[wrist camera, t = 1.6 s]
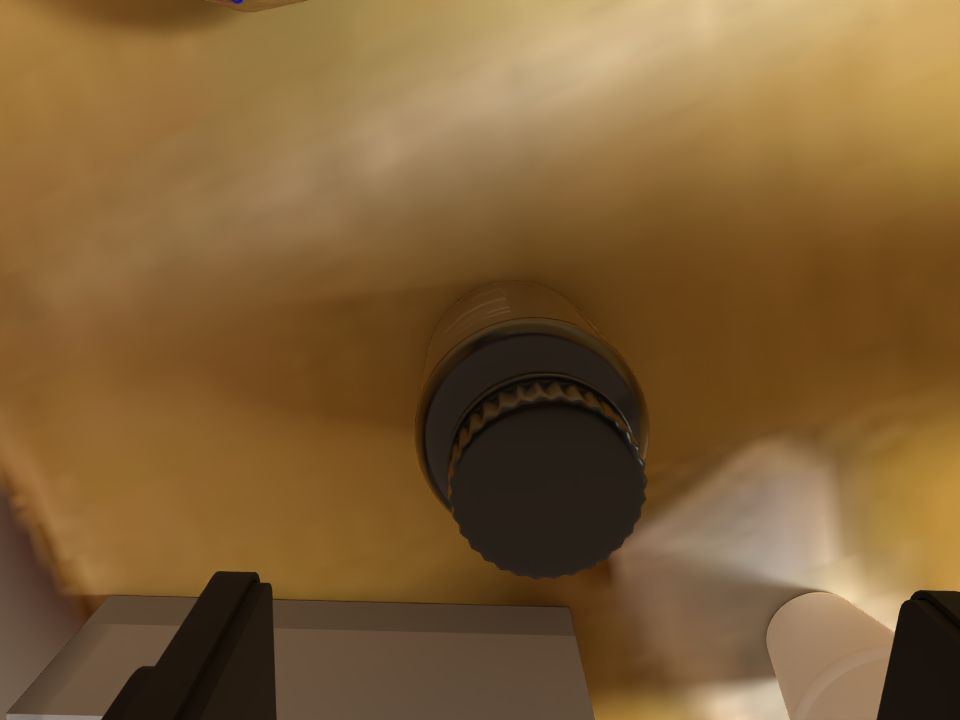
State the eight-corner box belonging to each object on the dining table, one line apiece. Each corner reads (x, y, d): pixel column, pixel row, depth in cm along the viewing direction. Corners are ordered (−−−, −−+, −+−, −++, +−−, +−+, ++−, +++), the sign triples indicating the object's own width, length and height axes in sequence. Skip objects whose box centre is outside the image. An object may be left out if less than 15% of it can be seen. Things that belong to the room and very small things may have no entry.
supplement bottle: (432, 446, 29) (407, 623, 17) (422, 281, 27) (387, 355, 16) (598, 439, 29) (685, 611, 17) (598, 274, 27) (694, 342, 16)
